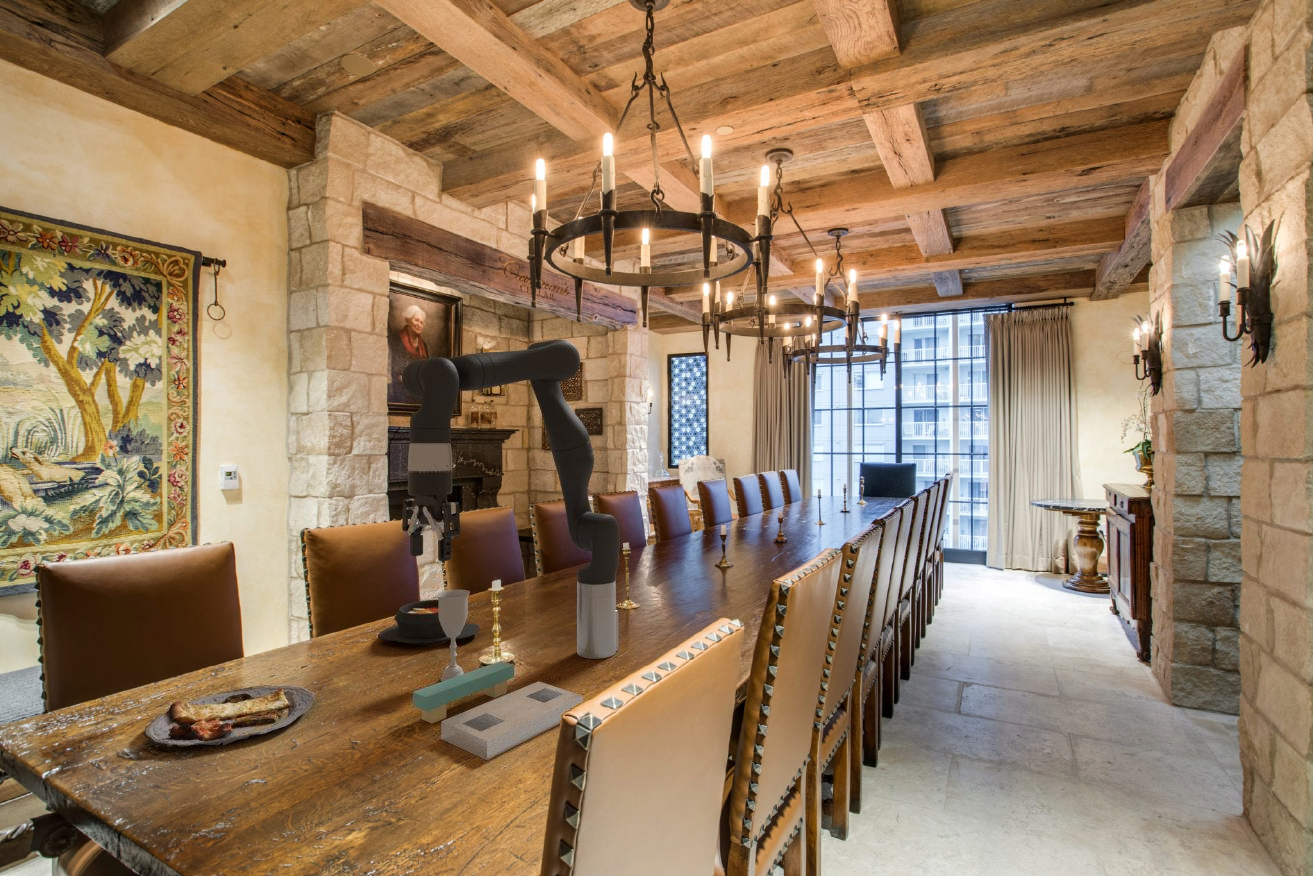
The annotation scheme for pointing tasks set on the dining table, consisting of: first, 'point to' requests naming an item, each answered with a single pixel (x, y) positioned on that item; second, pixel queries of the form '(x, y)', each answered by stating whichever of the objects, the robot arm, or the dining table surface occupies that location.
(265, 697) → the food plate
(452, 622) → the chalice
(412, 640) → the casserole
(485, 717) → the plate
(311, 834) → the dining table surface
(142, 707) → the dining table surface
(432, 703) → the strip bar
